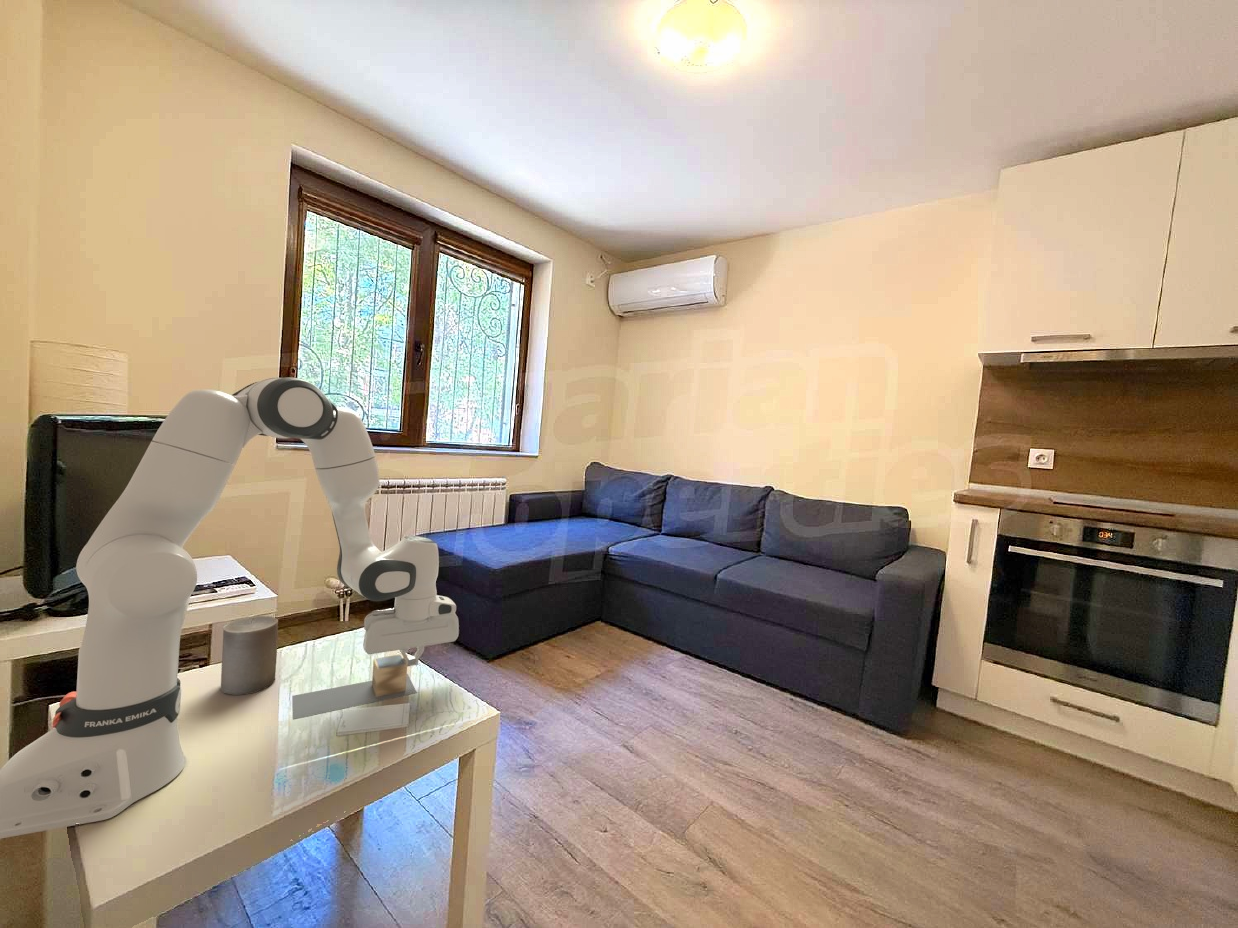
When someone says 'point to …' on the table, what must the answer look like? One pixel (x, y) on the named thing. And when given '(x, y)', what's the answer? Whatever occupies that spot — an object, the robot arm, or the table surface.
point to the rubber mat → (341, 698)
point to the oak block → (389, 675)
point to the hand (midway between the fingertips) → (410, 664)
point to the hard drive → (374, 719)
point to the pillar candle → (249, 654)
